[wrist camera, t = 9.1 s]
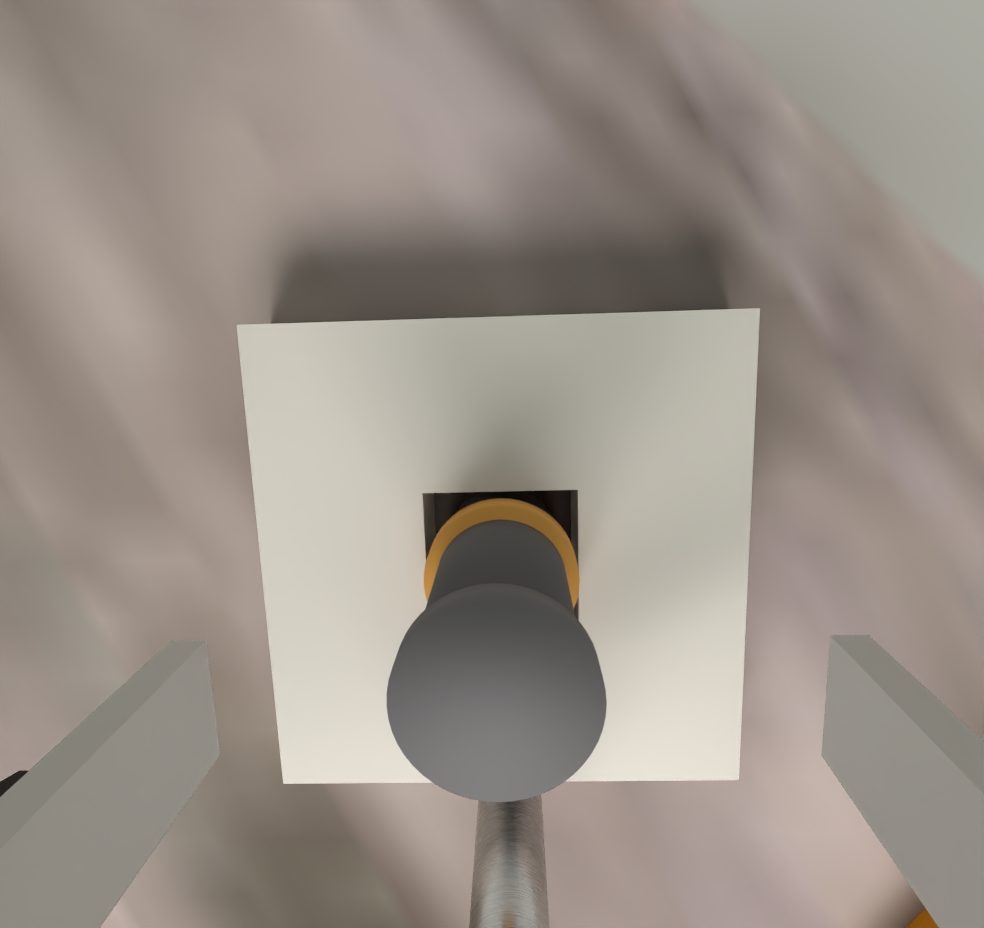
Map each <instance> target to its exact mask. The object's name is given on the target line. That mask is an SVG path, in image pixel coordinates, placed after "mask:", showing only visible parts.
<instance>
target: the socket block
mask: <svg viewBox="0 0 984 928" xmlns="http://www.w3.org/2000/svg"><path fill="white" fill-rule="evenodd" d="M759 319H760V308H752V309H720V310H689V311H657V312H626V313H594V314H563V315H531V316H500V317H468V318H436V319H405V320H373V321H342V322H310V323H279V324H247V325H237V334H238V344H239V354H240V363H241V373H242V383H243V393H244V403H245V412H246V422H247V432H248V442H249V452H250V461H251V471H252V481H253V491H254V501H255V510H256V520H257V530H258V540H259V550H260V559H261V569H262V579H263V589H264V599H265V608H266V618H267V628H268V638H269V648H270V657H271V667H272V677H273V687H274V697H275V706H276V716H277V726H278V736H279V745H280V755H281V765H282V775H283V784H304V783H429V782H431V781H430V780H429V779H427V778H426V777H425V776H423V775H422V774H421V773H420V772H419V771H418V770H417V769H416V768H415V767H414V766H413V765H412V764H411V763H410V762H409V760H408V759H407V758H406V757H405V756H404V754H403V752H402V751H401V749H400V748H399V746H398V744H397V742H396V740H395V738H394V735H393V733H392V730H391V727H390V723H389V720H388V713H387V687H388V680H389V677H390V674H391V670H392V667H393V664H394V661H395V658H396V656H397V653H398V650H399V647H400V644H401V642H402V640H403V638H404V636H405V634H406V632H407V631H408V629H409V628H410V626H411V625H412V623H413V622H414V621H415V620H416V618H417V617H418V616H419V615H420V614H421V613H422V612H423V611H424V610H425V608H426V605H427V599H426V595H425V590H424V570H425V564H426V560H427V557H428V554H429V551H430V548H431V546H432V543H433V541H434V539H435V537H436V525H435V505H434V493H459V492H503V491H547V490H571V544H572V547H573V549H574V552H575V556H576V560H577V564H578V569H579V578H580V584H579V593H578V598H577V602H576V604H575V607H574V613H575V617H576V618H577V619H578V620H579V622H580V623H581V624H582V626H583V627H584V628H585V630H586V631H587V633H588V635H589V637H590V639H591V640H592V642H593V645H594V647H595V650H596V653H597V656H598V660H599V664H600V668H601V672H602V676H603V680H604V685H605V689H606V701H607V706H606V718H605V722H604V727H603V730H602V733H601V736H600V738H599V741H598V743H597V745H596V747H595V749H594V750H593V752H592V754H591V755H590V757H589V758H588V759H587V761H586V762H585V763H584V765H583V766H582V767H581V768H580V769H579V770H578V771H577V772H576V773H575V774H574V775H572V776H571V777H570V778H568V779H567V780H566V781H679V780H739V763H740V741H741V719H742V696H743V674H744V652H745V630H746V608H747V585H748V563H749V541H750V519H751V497H752V475H753V452H754V430H755V408H756V386H757V364H758V341H759Z"/></svg>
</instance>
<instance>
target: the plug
mask: <svg viewBox="0 0 984 928" xmlns="http://www.w3.org/2000/svg"><path fill="white" fill-rule="evenodd" d="M579 584H580V578H579V569H578V564H577V560H576V556H575V552H574V549H573V547H572V544H571V541H570V539H569V538H568V536H567V534H566V532H565V531H564V530H563V528H562V527H561V525H560V524H559V523H558V522H557V521H556V520H555V519H554V518H553V516H552V514H551V512H550V510H549V509H548V507H547V506H546V505H545V504H544V503H543V501H542V500H541V499H539V498H538V497H537V496H536V495H534V494H532V493H531V492H529V491H503V492H475V493H474V494H472V495H471V496H469V497H468V498H467V499H466V500H465V501H464V502H463V503H462V504H461V505H460V507H459V508H458V510H457V511H456V513H455V514H454V515H453V516H452V517H451V518H450V519H449V520H448V521H447V522H446V523H445V524H444V525H443V526H442V527H441V529H440V530H439V532H438V533H437V535H436V537H435V539H434V541H433V543H432V546H431V548H430V551H429V554H428V557H427V560H426V564H425V570H424V590H425V595H426V599H427V605H426V608H425V610H424V611H423V612H422V613H421V614H420V615H419V616H418V617H417V618H416V620H415V621H414V622H413V623H412V625H411V626H410V628H409V629H408V631H407V632H406V634H405V636H404V638H403V640H402V642H401V644H400V647H399V650H398V653H397V656H396V658H395V661H394V664H393V667H392V670H391V674H390V677H389V680H388V687H387V713H388V720H389V723H390V727H391V730H392V733H393V735H394V738H395V740H396V742H397V744H398V746H399V748H400V749H401V751H402V752H403V754H404V756H405V757H406V758H407V759H408V760H409V762H410V763H411V764H412V765H413V766H414V767H415V768H416V769H417V770H418V771H419V772H420V773H421V774H422V775H423V776H425V777H426V778H427V779H429V780H430V781H431V782H433V783H434V784H436V785H438V786H439V787H441V788H443V789H445V790H447V791H449V792H452V793H454V794H456V795H459V796H462V797H466V798H469V799H474V800H480V801H487V802H509V801H517V800H522V799H527V798H531V797H534V796H537V795H540V794H542V793H545V792H547V791H549V790H551V789H553V788H555V787H557V786H558V785H560V784H562V783H563V782H565V781H566V780H567V779H568V778H570V777H571V776H572V775H574V774H575V773H576V772H577V771H578V770H579V769H580V768H581V767H582V766H583V765H584V763H585V762H586V761H587V759H588V758H589V757H590V755H591V754H592V752H593V750H594V749H595V747H596V745H597V743H598V741H599V738H600V736H601V733H602V730H603V727H604V722H605V718H606V706H607V701H606V689H605V685H604V680H603V676H602V672H601V668H600V664H599V660H598V656H597V653H596V650H595V647H594V645H593V642H592V640H591V639H590V637H589V635H588V633H587V631H586V630H585V628H584V627H583V626H582V624H581V623H580V622H579V620H578V619H577V618H576V617H575V613H574V607H575V604H576V602H577V598H578V593H579Z"/></svg>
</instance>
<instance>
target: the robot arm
mask: <svg viewBox="0 0 984 928" xmlns="http://www.w3.org/2000/svg"><path fill="white" fill-rule="evenodd" d="M219 756H220V750H219V742H218V734H217V726H216V718H215V710H214V702H213V694H212V685H211V677H210V669H209V661H208V653H207V645H206V641H171V642H169V643H168V644H167V645H166V646H165V647H164V648H163V649H162V650H161V651H160V652H159V653H157V654H156V655H155V656H154V657H153V658H152V659H151V660H150V661H149V662H148V663H146V664H145V665H144V666H143V667H142V668H141V669H140V670H139V671H138V672H137V673H136V674H134V675H133V676H132V677H131V678H130V679H129V680H128V681H127V682H126V683H125V684H123V685H122V686H121V687H120V688H119V689H118V690H117V691H116V692H115V693H114V694H113V695H111V696H110V697H109V698H108V699H107V700H106V701H105V702H104V703H103V704H102V705H100V706H99V707H98V708H97V709H96V710H95V711H94V712H93V713H92V714H91V715H90V716H88V717H87V718H86V719H85V720H84V721H83V722H82V723H81V724H80V725H79V726H77V727H76V728H75V729H74V730H73V731H72V732H71V733H70V734H69V735H68V736H67V737H65V738H64V739H63V740H62V741H61V742H60V743H59V744H58V745H57V746H56V747H54V748H53V749H52V750H51V751H50V752H49V753H48V754H47V755H46V756H45V757H44V758H42V759H41V760H40V761H39V762H38V763H37V764H36V765H35V766H34V767H33V768H31V769H30V770H29V771H18V772H16V773H15V774H13V775H11V776H9V777H8V778H6V779H4V780H3V781H1V782H0V928H100V927H101V925H102V924H103V923H104V921H105V920H106V918H107V917H108V915H109V914H110V912H111V911H112V910H113V908H114V907H115V905H116V904H117V902H118V901H119V900H120V898H121V897H122V895H123V894H124V892H125V891H126V889H127V888H128V887H129V885H130V884H131V882H132V881H133V879H134V878H135V877H136V875H137V874H138V872H139V871H140V869H141V868H142V867H143V865H144V864H145V862H146V861H147V859H148V858H149V856H150V855H151V854H152V852H153V851H154V849H155V848H156V846H157V845H158V844H159V842H160V841H161V839H162V838H163V836H164V835H165V834H166V832H167V831H168V829H169V828H170V826H171V825H172V823H173V822H174V821H175V819H176V818H177V816H178V815H179V813H180V812H181V811H182V809H183V808H184V806H185V805H186V803H187V802H188V801H189V799H190V798H191V796H192V795H193V793H194V792H195V790H196V789H197V788H198V786H199V785H200V783H201V782H202V780H203V779H204V778H205V776H206V775H207V773H208V772H209V770H210V769H211V767H212V766H213V765H214V763H215V762H216V760H217V759H218V757H219ZM822 757H823V758H824V760H825V761H826V763H827V764H828V766H829V767H830V769H831V770H832V771H833V773H834V774H835V776H836V777H837V779H838V780H839V782H840V783H841V785H842V786H843V788H844V789H845V791H846V792H847V793H848V795H849V796H850V798H851V799H852V801H853V802H854V804H855V805H856V807H857V808H858V810H859V811H860V813H861V814H862V816H863V817H864V818H865V820H866V821H867V823H868V824H869V826H870V827H871V829H872V830H873V832H874V833H875V835H876V836H877V838H878V839H879V840H880V842H881V843H882V845H883V846H884V848H885V849H886V851H887V852H888V854H889V855H890V857H891V858H892V860H893V861H894V863H895V864H896V865H897V867H898V868H899V870H900V871H901V873H902V874H903V876H904V877H905V879H906V880H907V882H908V883H909V885H910V886H911V887H912V889H913V890H914V892H915V893H916V895H917V896H918V898H919V899H920V901H921V902H922V904H923V905H924V907H925V908H926V910H927V911H928V912H929V914H930V915H931V917H932V918H933V920H934V921H935V923H936V924H937V926H938V927H939V928H984V741H983V740H982V739H981V738H980V737H979V736H978V735H977V734H976V733H974V732H973V731H972V730H971V729H970V728H969V727H968V726H967V725H966V724H965V723H964V722H963V721H961V720H960V719H959V718H958V717H957V716H956V715H955V714H954V713H953V712H952V711H951V710H949V709H948V708H947V707H946V706H945V705H944V704H943V703H942V702H941V701H940V700H939V699H937V698H936V697H935V696H934V695H933V694H932V693H931V692H930V691H929V690H928V689H927V688H926V687H924V686H923V685H922V684H921V683H920V682H919V681H918V680H917V679H916V678H915V677H914V676H912V675H911V674H910V673H909V672H908V671H907V670H906V669H905V668H904V667H903V666H902V665H900V664H899V663H898V662H897V661H896V660H895V659H894V658H893V657H892V656H891V655H890V654H889V653H887V652H886V651H885V650H884V649H883V648H882V647H881V646H880V645H879V644H878V643H877V642H875V641H874V640H873V639H872V638H871V637H870V636H869V635H830V646H829V660H828V673H827V687H826V701H825V714H824V728H823V742H822Z"/></svg>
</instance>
